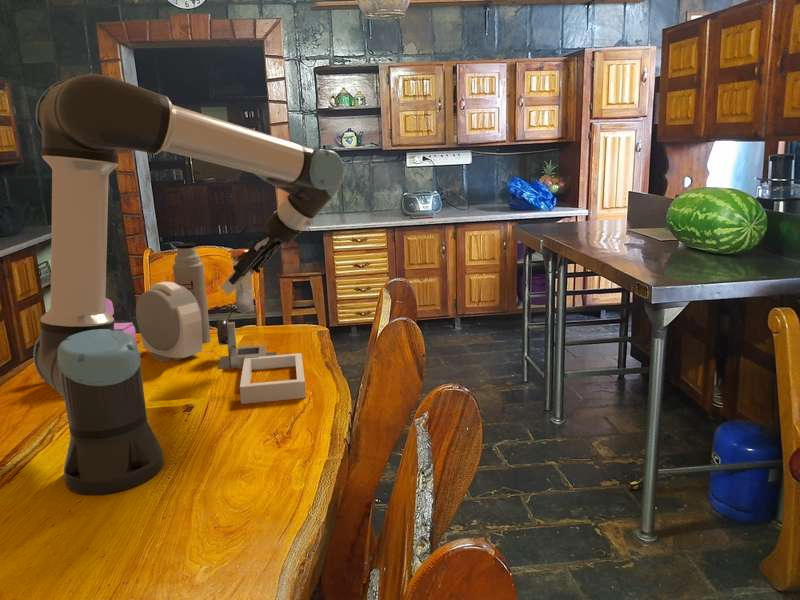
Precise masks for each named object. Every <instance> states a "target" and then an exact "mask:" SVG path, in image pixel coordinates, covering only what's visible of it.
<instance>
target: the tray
mask: <svg viewBox="0 0 800 600" xmlns="http://www.w3.org/2000/svg"><path fill="white" fill-rule="evenodd" d="M302 355H303V354H302V352H300V353H288V354H287V353H286V354H276V355H272V356H260V357H254V358H244V364H243V369H241V370H242V371H241V377H240V385H239V393H240V394H239V395H240V403H241V405H244V404H245V405H246V404H256V403H264V402H265V403H266V402H276V401H287V400H288V401H289V400H296V399H297V400H298V399H305V398H307V394H306V393H307V392H306V380H305V373H304V372H305V371H304V364H303V356H302ZM289 367H295V371H296V372H295V373H296V379H286V380H284V379H283V380H274V381H264V382H254V383H253V382H252V383H251V380H252V371H255V370H266V369H267V370H268V369H278V368H289Z"/></svg>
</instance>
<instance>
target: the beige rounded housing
mask: <svg viewBox="0 0 800 600" xmlns="http://www.w3.org/2000/svg"><path fill="white" fill-rule="evenodd" d="M135 319H136V322H137V327H138V330H139V334H140V339H141V342H142V343H141V344H142V346H143V349H145V350H147V351H149V352H150V353H151V358H152V359H153V360H158V361H161V362H165V363H170V361H171V360H175V361H181V360H184V359H186V358H189V357H192V356H195V355H197V354H199V353H202V352H203V344H202V316H201V311H200V308H199V305H198V302H197V301H196V299H195V297H194V296H193V294H192V293H191V292H190V291H189V290H188V289H186V288H185V287H183V286H180V285H177V284H176V283H174V282H172V281H161V282H158V283H154V284H151V285H150V287H149V289H148V290H146V291H144V292H142V293H141V294H140V295H139V297H138V299H137V302H136V307H135Z"/></svg>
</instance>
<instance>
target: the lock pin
mask: <svg viewBox="0 0 800 600" xmlns="http://www.w3.org/2000/svg"><path fill="white" fill-rule="evenodd" d="M249 249H250V248H236V249H231V250H230V258H231V259H232V267H233V266H234V265H236V264H237V263H238V262H239V261H240V260H241V258H242V257H243V256H244V255H245V254H246V252H247V251H248V250H249ZM232 270H233V272H234V271H235V270H234V269H232ZM245 276H246V277H245V278H244V279H243V280H242V281H241V282H240V284H239V285H238V286H237V287H236V288H235V289H234V292H235V294H234V295H235V304H236V305H235V306H236V312H237V313H249V312H253V311H255V306H254V292H253V283H252V282H253V281H252V280H253V279H252V276H251V269H250V270H249V272H248V273H247V274H246V275H245Z"/></svg>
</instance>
